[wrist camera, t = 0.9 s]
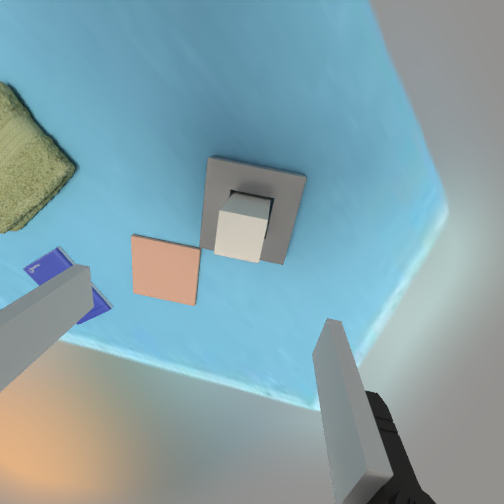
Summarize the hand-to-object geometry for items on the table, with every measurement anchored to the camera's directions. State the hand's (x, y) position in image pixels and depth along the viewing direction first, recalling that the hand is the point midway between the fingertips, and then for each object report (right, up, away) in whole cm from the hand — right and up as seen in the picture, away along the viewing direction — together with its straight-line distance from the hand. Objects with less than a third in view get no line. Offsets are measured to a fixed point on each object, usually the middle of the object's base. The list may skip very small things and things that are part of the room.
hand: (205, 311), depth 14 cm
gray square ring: (+2, +9, +19) cm, 21 cm away
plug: (+2, +9, +19) cm, 21 cm away
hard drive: (-27, -2, +28) cm, 39 cm away
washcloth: (-30, +15, +20) cm, 39 cm away
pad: (-11, 0, +24) cm, 26 cm away
